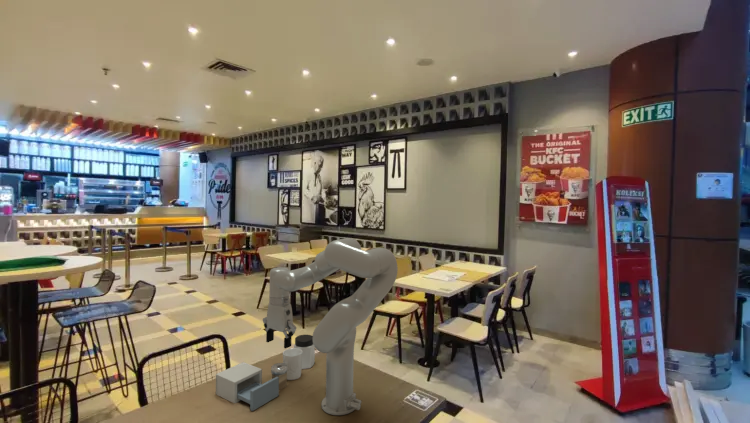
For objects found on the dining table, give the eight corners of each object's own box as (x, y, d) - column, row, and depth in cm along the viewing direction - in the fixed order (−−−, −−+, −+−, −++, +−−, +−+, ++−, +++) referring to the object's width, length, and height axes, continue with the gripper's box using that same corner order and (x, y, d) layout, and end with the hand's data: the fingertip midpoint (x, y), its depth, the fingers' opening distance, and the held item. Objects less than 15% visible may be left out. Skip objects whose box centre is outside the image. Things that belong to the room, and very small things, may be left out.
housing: (262, 388, 135) (262, 369, 134) (234, 403, 125) (234, 382, 124) (243, 380, 141) (243, 362, 140) (215, 394, 130) (215, 374, 130)
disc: (290, 370, 137) (290, 365, 137) (278, 376, 132) (278, 371, 132) (279, 366, 140) (279, 361, 140) (267, 372, 135) (267, 367, 135)
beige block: (286, 386, 137) (286, 370, 137) (278, 390, 133) (279, 375, 133) (279, 383, 139) (279, 368, 139) (271, 387, 135) (271, 372, 135)
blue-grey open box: (278, 395, 130) (278, 377, 129) (252, 410, 120) (252, 391, 120) (258, 386, 135) (258, 369, 135) (231, 400, 126) (231, 382, 125)
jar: (318, 364, 155) (318, 337, 155) (303, 371, 149) (303, 343, 149) (305, 358, 161) (305, 332, 161) (290, 364, 155) (290, 337, 154)
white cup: (299, 381, 141) (300, 356, 140) (280, 380, 141) (280, 355, 141) (304, 371, 149) (304, 348, 148) (285, 371, 149) (285, 347, 149)
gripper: (302, 301, 134) (302, 346, 134) (271, 294, 143) (270, 336, 144) (288, 306, 128) (287, 353, 128) (256, 298, 137) (255, 342, 137)
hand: (278, 344), depth 136 cm, fingers open, 9 cm apart
